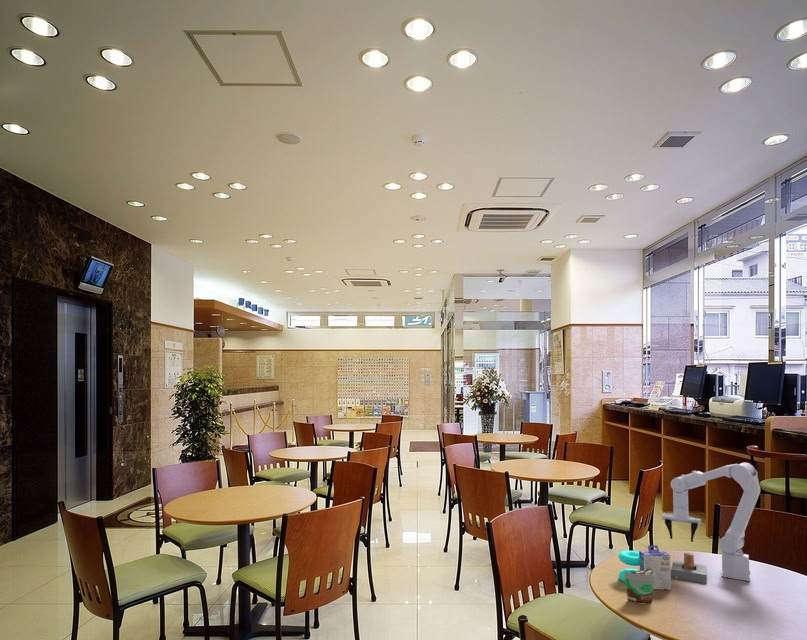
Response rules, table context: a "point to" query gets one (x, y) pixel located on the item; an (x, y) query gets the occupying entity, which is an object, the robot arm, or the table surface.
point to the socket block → (689, 572)
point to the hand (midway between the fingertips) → (681, 539)
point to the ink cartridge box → (657, 566)
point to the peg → (689, 561)
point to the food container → (640, 585)
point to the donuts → (629, 562)
